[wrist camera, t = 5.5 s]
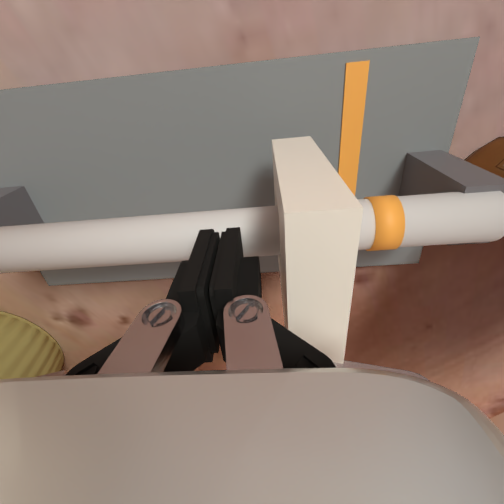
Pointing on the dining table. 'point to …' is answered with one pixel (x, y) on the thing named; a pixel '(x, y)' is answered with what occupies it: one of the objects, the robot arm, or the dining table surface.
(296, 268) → the collar
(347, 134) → the pipe rig
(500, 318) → the dining table surface
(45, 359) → the potted cactus
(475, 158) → the pancake mix bag
